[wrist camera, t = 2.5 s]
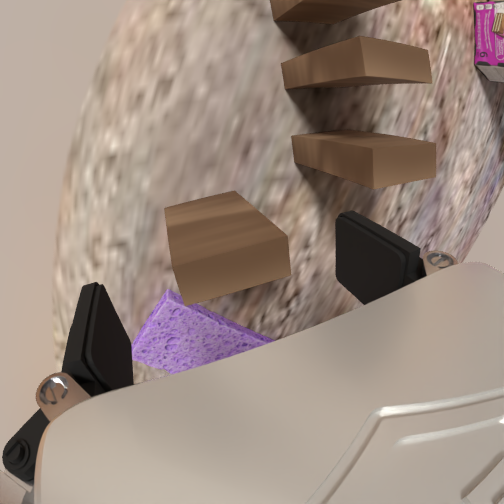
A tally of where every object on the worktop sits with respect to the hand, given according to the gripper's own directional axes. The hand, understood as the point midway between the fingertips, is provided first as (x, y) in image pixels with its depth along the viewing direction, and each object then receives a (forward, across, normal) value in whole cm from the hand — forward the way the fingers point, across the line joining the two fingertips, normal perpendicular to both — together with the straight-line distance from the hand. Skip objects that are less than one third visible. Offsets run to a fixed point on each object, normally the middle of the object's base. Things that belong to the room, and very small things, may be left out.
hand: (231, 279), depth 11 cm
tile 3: (+10, -10, -8) cm, 17 cm away
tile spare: (+10, -1, +1) cm, 11 cm away
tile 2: (+10, -10, -2) cm, 15 cm away
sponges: (+11, +2, +13) cm, 17 cm away
